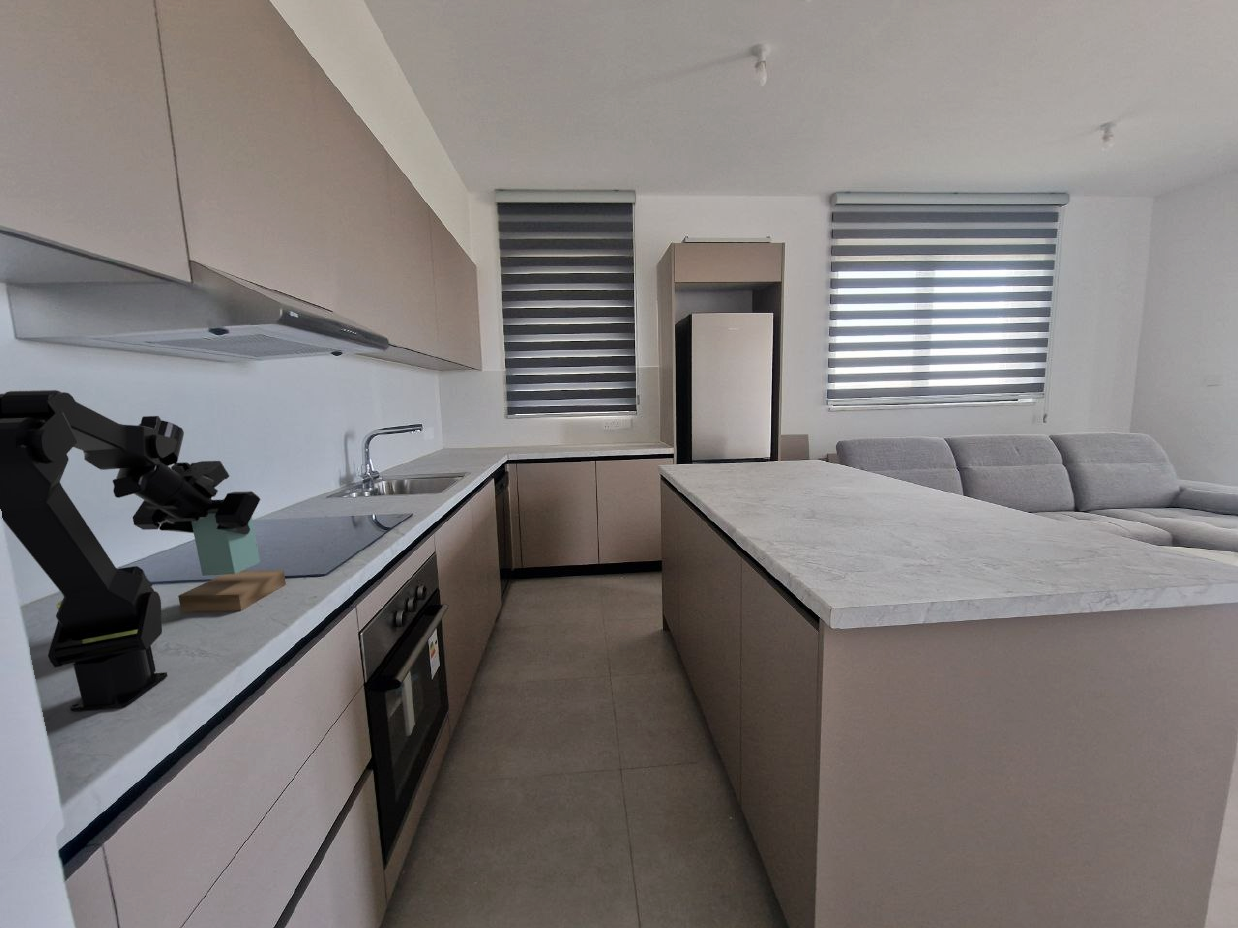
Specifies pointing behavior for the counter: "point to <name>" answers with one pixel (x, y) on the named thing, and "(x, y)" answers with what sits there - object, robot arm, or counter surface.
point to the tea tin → (224, 548)
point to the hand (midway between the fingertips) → (231, 532)
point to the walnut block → (232, 591)
